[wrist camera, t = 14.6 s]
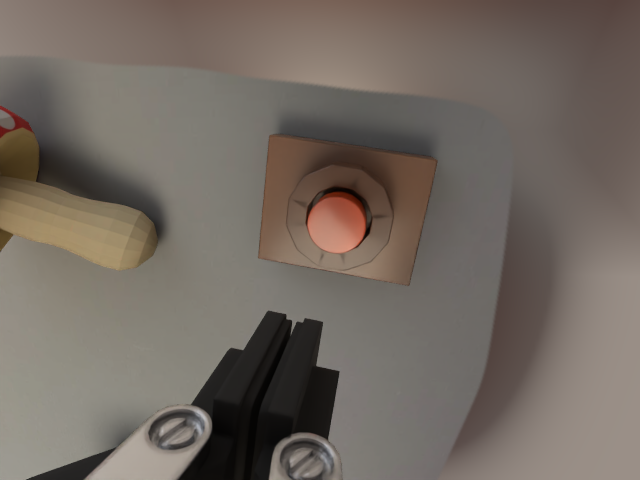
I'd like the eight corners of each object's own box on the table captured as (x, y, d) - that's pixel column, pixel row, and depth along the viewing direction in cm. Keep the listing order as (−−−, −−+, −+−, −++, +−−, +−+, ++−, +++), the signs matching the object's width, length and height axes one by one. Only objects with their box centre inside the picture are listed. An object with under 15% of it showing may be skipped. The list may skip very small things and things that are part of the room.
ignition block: (432, 156, 24) (442, 163, 20) (406, 273, 27) (411, 298, 23) (278, 133, 25) (260, 135, 21) (266, 248, 28) (249, 268, 24)
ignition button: (371, 196, 22) (370, 201, 20) (361, 248, 23) (360, 258, 21) (315, 187, 22) (310, 192, 21) (309, 239, 23) (303, 248, 22)
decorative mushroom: (188, 154, 24) (-125, 28, 18) (119, 335, 21) (-264, 247, 16) (178, 193, 34) (-25, 119, 29) (131, 319, 31) (-101, 262, 26)
